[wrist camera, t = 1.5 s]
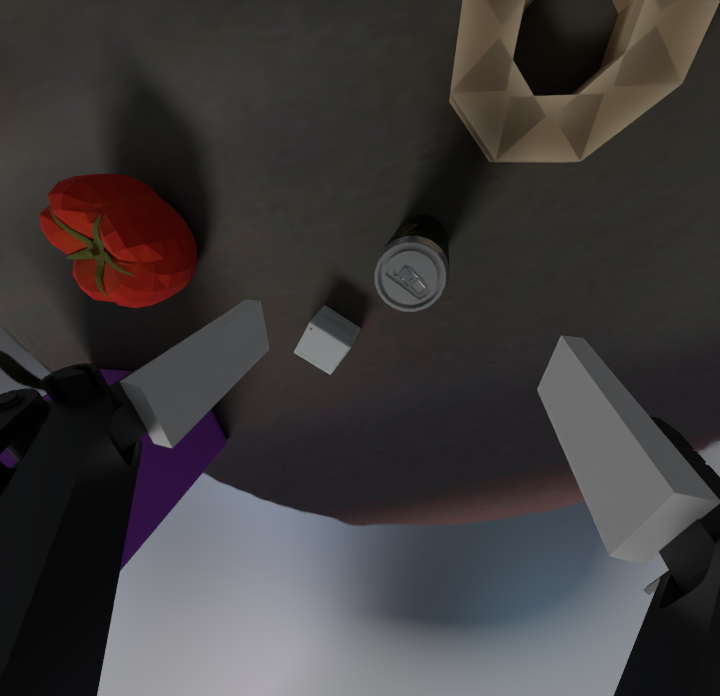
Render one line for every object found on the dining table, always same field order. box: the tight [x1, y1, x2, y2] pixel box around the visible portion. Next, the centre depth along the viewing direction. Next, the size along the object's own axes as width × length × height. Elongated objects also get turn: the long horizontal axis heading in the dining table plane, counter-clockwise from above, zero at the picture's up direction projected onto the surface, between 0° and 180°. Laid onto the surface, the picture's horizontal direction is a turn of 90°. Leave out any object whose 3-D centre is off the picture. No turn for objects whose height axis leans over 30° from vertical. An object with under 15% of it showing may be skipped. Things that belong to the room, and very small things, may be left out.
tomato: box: [40, 174, 197, 308], centre depth 32 cm, size 14×13×10 cm
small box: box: [294, 305, 360, 375], centre depth 36 cm, size 6×6×5 cm
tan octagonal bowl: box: [449, 0, 720, 162], centre depth 19 cm, size 14×14×4 cm
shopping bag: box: [0, 368, 227, 571], centre depth 45 cm, size 28×22×30 cm
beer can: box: [374, 215, 450, 312], centre depth 25 cm, size 5×5×12 cm
